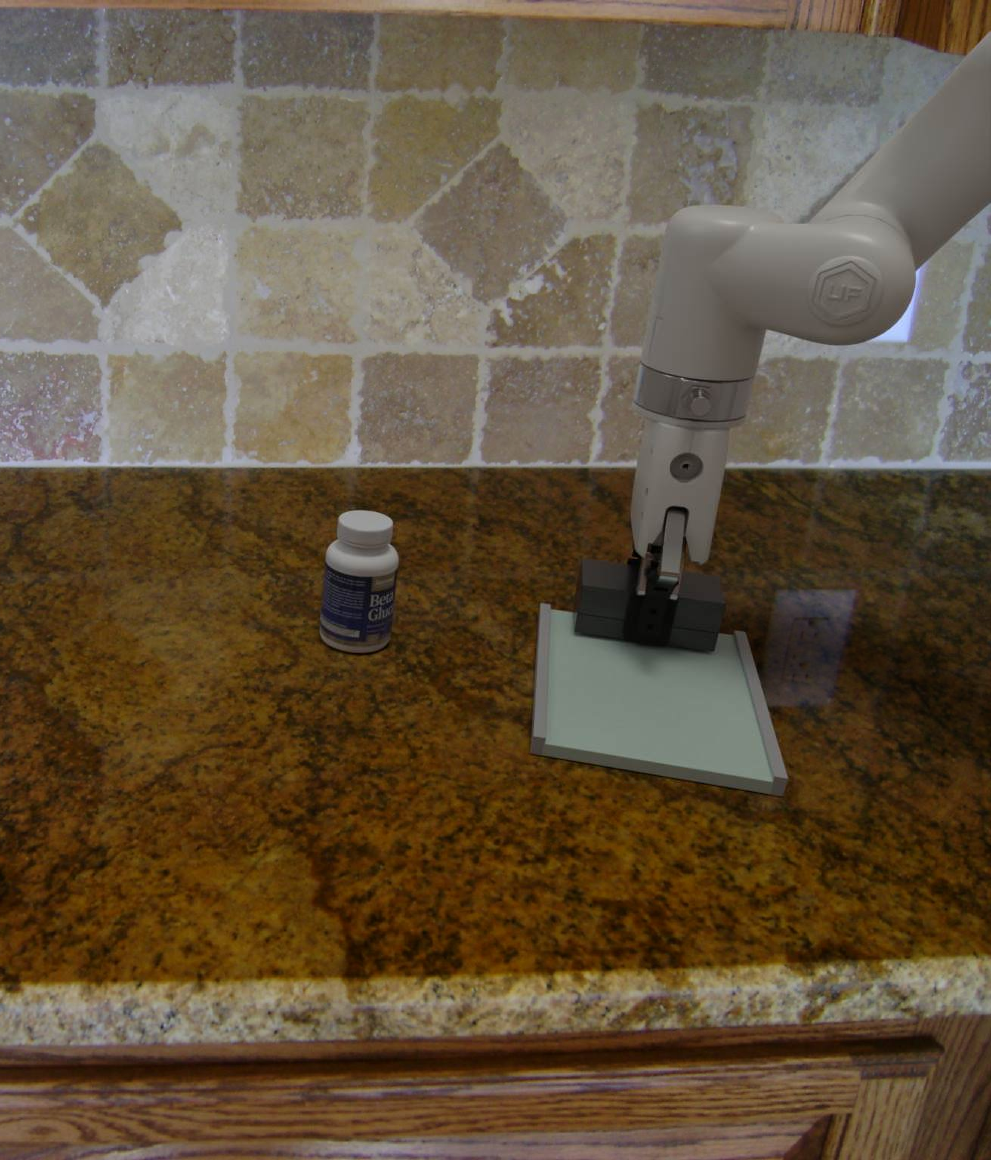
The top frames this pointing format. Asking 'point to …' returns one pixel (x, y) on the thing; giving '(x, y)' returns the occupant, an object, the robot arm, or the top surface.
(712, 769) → the board
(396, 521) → the top surface
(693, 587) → the eraser
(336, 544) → the pill bottle
